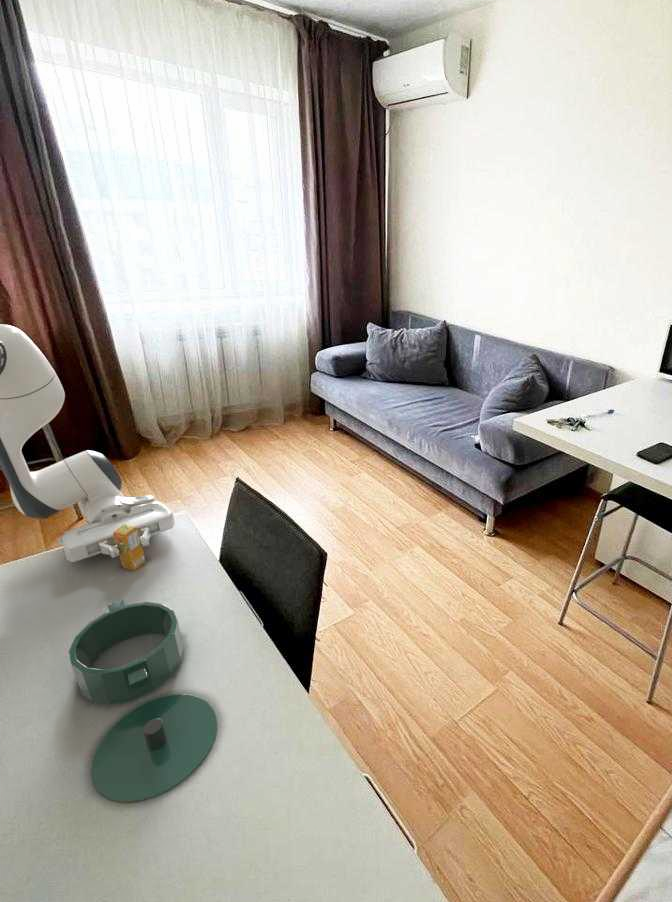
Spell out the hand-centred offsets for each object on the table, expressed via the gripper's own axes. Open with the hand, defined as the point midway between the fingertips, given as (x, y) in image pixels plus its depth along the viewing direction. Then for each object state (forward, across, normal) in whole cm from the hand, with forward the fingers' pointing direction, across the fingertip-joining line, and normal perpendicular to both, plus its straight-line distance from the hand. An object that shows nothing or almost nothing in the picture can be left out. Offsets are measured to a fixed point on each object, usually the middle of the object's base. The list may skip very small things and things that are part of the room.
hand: (131, 548), depth 102 cm
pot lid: (+44, -9, +5) cm, 45 cm away
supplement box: (-1, 0, +6) cm, 6 cm away
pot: (+27, -7, +6) cm, 28 cm away
